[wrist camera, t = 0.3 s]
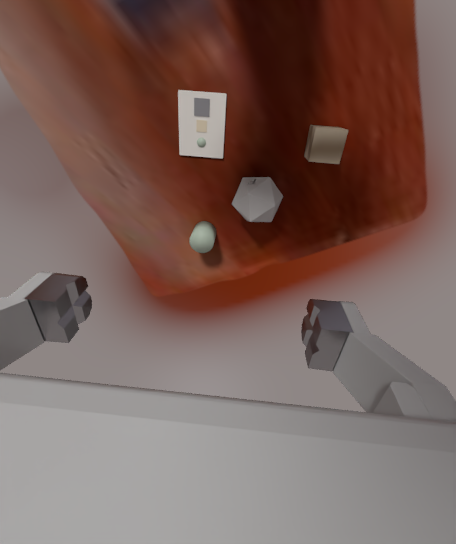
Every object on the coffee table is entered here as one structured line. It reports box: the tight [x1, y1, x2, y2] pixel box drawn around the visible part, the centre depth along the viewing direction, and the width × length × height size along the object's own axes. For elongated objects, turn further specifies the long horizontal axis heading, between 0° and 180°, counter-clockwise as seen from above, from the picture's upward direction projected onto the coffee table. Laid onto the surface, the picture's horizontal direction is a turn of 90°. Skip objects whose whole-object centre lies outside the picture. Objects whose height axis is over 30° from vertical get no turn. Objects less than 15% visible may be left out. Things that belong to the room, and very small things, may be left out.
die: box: [232, 177, 283, 222], centre depth 51 cm, size 8×9×10 cm
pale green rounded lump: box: [190, 221, 216, 253], centre depth 57 cm, size 5×5×5 cm
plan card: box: [178, 90, 227, 159], centre depth 48 cm, size 10×8×1 cm
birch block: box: [304, 125, 348, 164], centre depth 46 cm, size 5×5×5 cm
